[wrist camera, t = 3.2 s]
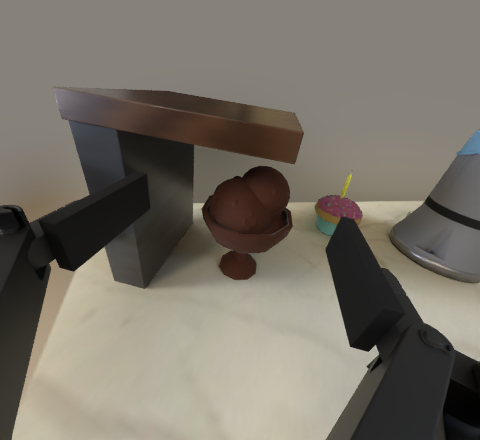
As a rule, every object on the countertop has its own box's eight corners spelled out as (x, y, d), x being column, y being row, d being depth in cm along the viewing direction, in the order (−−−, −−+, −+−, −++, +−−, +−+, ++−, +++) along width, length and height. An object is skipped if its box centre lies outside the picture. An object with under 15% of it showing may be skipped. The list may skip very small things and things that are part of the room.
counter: (263, 238, 36) (295, 113, 26) (249, 321, 23) (304, 132, 12) (173, 217, 38) (167, 90, 27) (111, 284, 24) (51, 86, 14)
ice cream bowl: (249, 235, 36) (267, 150, 28) (289, 283, 28) (330, 183, 20) (191, 249, 31) (192, 150, 23) (219, 310, 24) (236, 193, 15)
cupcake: (306, 215, 46) (325, 162, 39) (344, 222, 45) (370, 170, 39) (311, 237, 39) (336, 177, 32) (357, 247, 38) (391, 188, 32)
